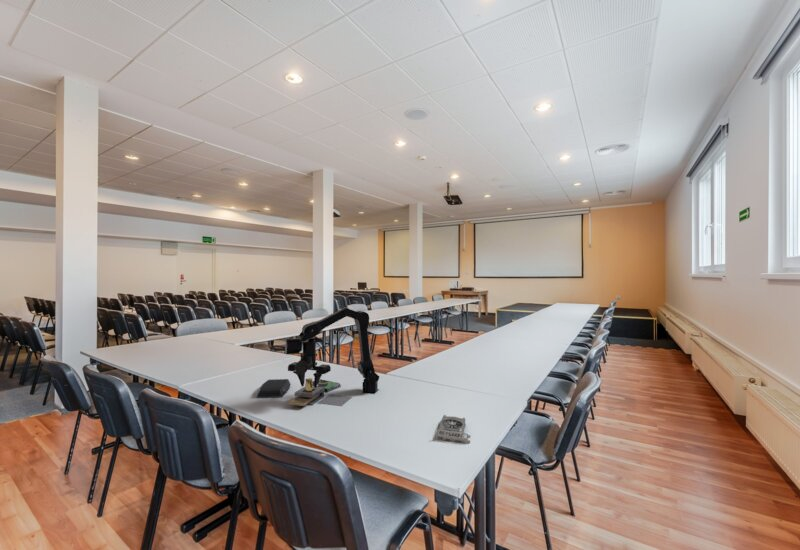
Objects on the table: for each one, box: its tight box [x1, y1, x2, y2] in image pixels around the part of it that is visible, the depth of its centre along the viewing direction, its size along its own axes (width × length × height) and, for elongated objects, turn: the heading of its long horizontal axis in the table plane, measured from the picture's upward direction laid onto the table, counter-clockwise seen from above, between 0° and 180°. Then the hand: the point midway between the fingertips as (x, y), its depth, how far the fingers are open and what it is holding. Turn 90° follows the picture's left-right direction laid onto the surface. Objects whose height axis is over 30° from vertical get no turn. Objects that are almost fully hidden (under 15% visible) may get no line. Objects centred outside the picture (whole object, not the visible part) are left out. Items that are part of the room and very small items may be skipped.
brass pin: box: [305, 377, 313, 392], centre depth 155 cm, size 3×3×10 cm
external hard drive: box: [255, 378, 292, 399], centre depth 168 cm, size 13×19×4 cm
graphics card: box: [435, 414, 471, 444], centre depth 125 cm, size 17×4×12 cm
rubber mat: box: [316, 394, 353, 407], centre depth 155 cm, size 12×12×1 cm
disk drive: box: [304, 378, 342, 393], centre depth 174 cm, size 10×3×15 cm
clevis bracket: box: [288, 385, 325, 407], centre depth 153 cm, size 16×9×5 cm, turn 164°
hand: (309, 387), depth 155 cm, fingers open, 6 cm apart
